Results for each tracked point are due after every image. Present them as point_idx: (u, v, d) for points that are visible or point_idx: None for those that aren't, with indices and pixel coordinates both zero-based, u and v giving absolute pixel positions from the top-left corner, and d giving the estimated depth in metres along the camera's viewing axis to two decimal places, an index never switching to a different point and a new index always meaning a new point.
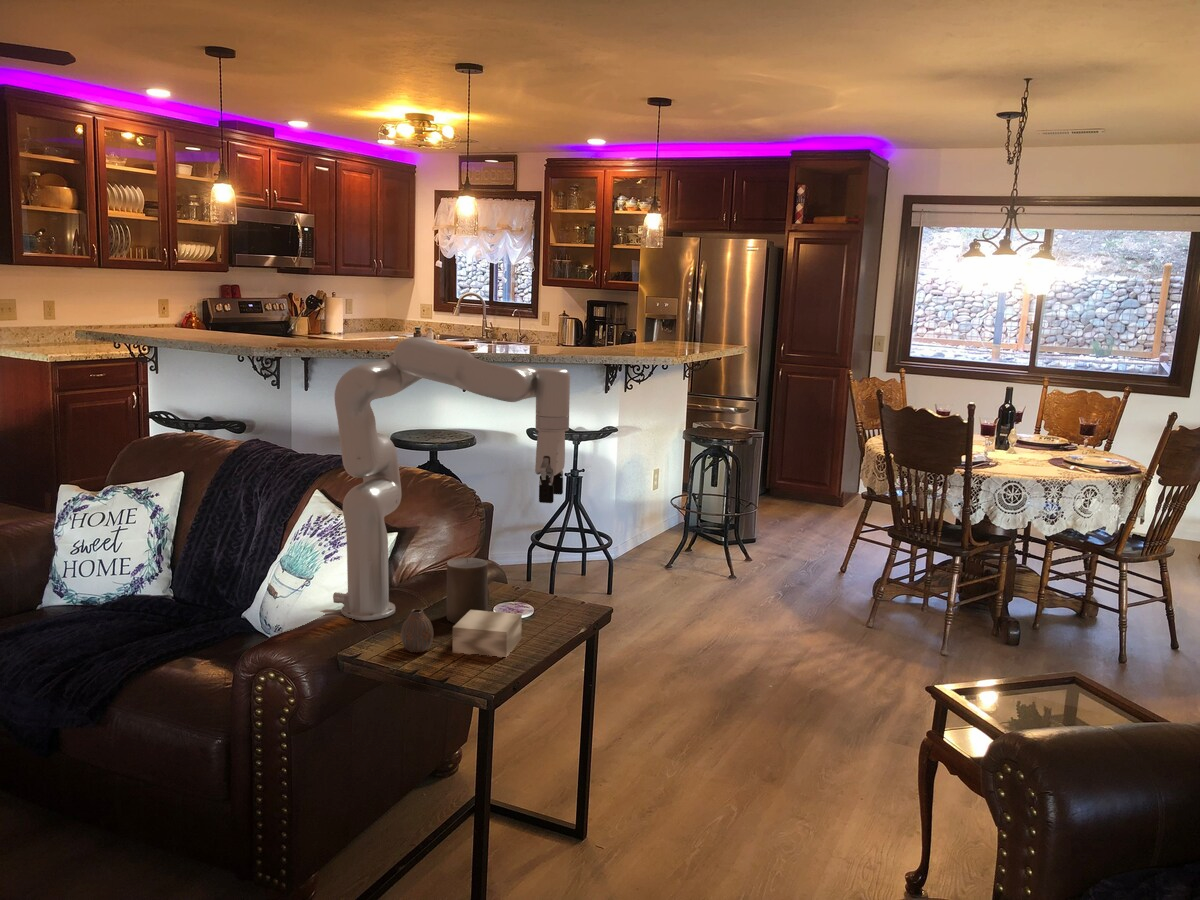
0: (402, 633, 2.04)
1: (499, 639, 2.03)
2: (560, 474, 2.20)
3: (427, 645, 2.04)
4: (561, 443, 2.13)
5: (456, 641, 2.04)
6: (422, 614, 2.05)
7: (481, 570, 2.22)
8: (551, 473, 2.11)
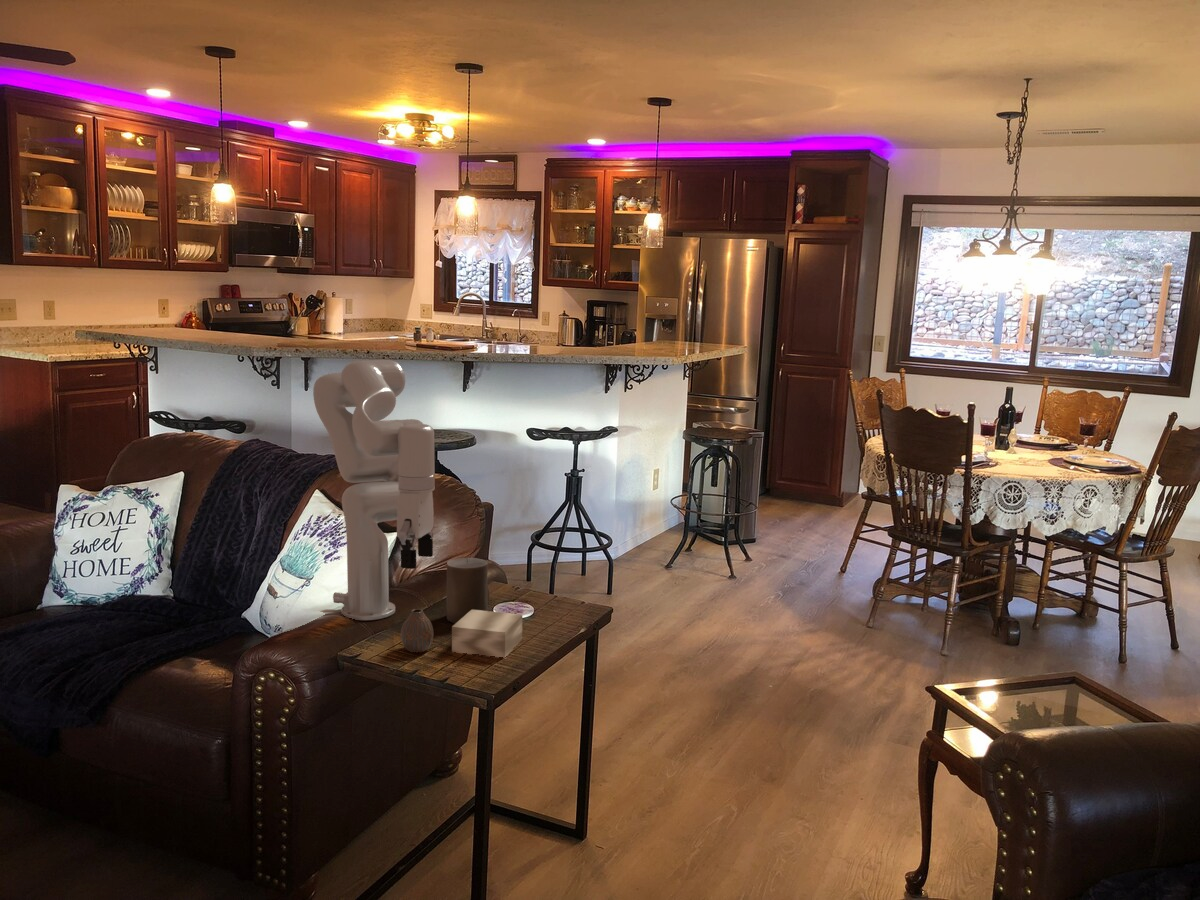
0: (402, 633, 2.04)
1: (497, 640, 2.02)
2: (429, 535, 2.07)
3: (427, 645, 2.04)
4: (425, 505, 2.00)
5: (455, 640, 2.05)
6: (422, 614, 2.05)
7: (481, 570, 2.22)
8: (413, 537, 1.97)
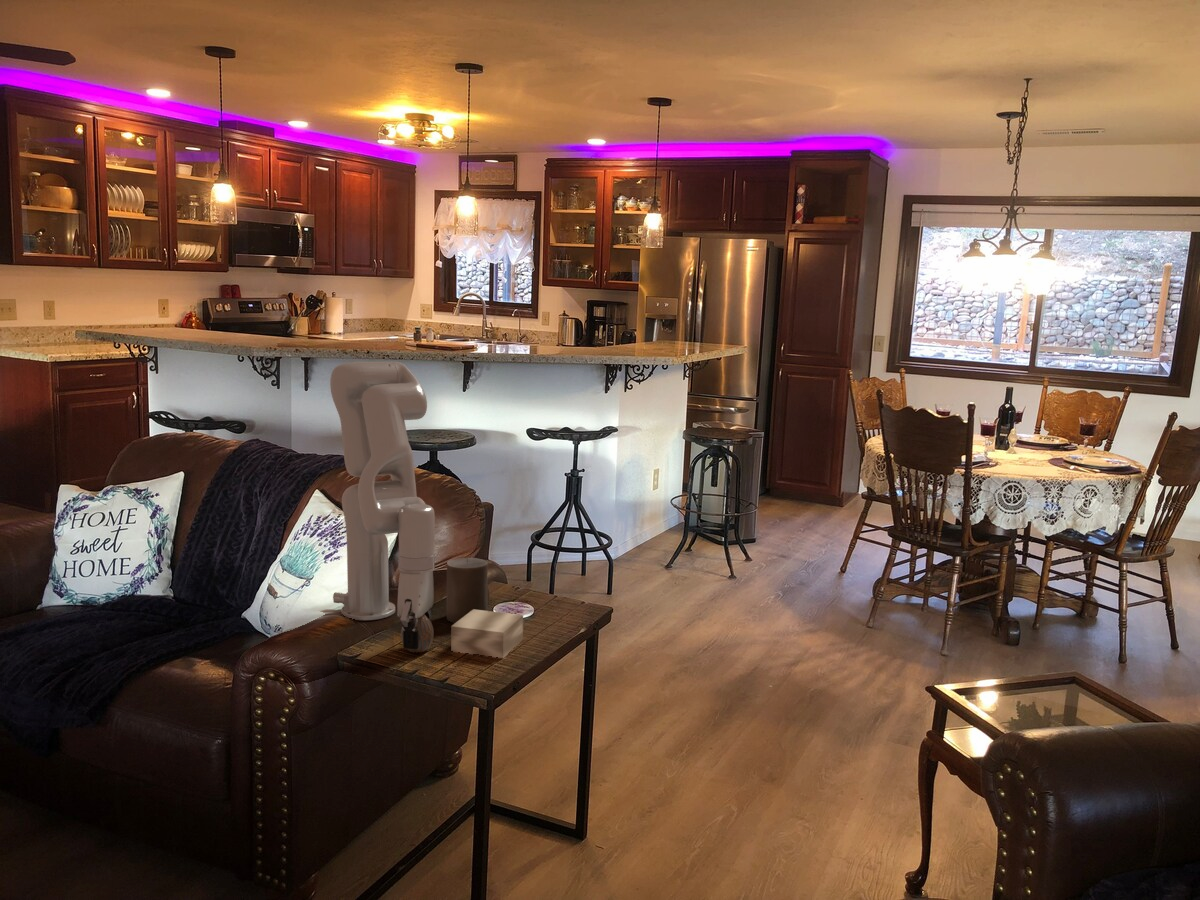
0: (402, 633, 2.04)
1: (496, 640, 2.02)
2: (427, 616, 2.09)
3: (427, 645, 2.04)
4: (425, 584, 2.02)
5: (454, 640, 2.05)
6: None
7: (481, 570, 2.22)
8: (414, 618, 2.01)
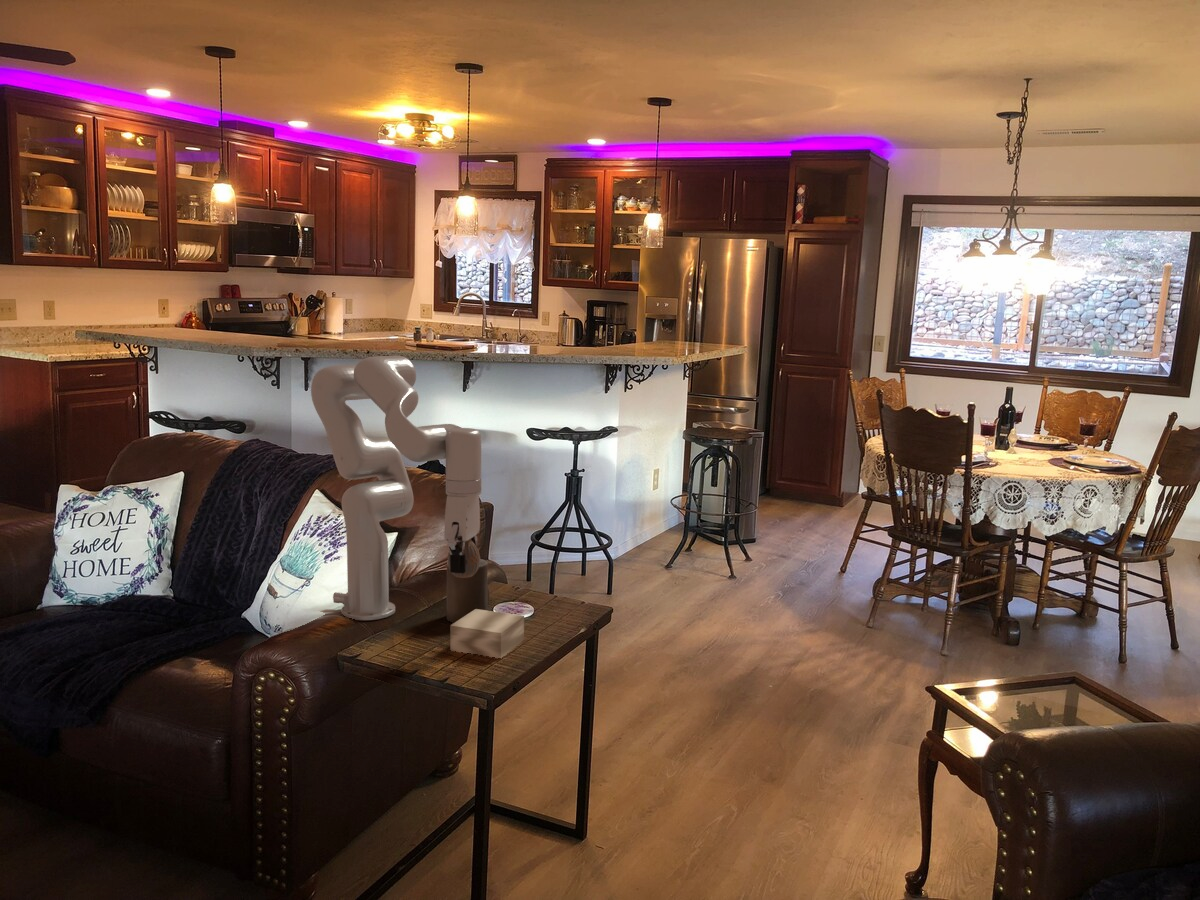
0: (449, 558, 2.03)
1: (493, 640, 2.02)
2: (474, 543, 2.08)
3: (474, 570, 2.04)
4: (472, 508, 2.02)
5: (453, 639, 2.05)
6: (469, 539, 2.04)
7: (481, 570, 2.22)
8: (461, 542, 2.00)
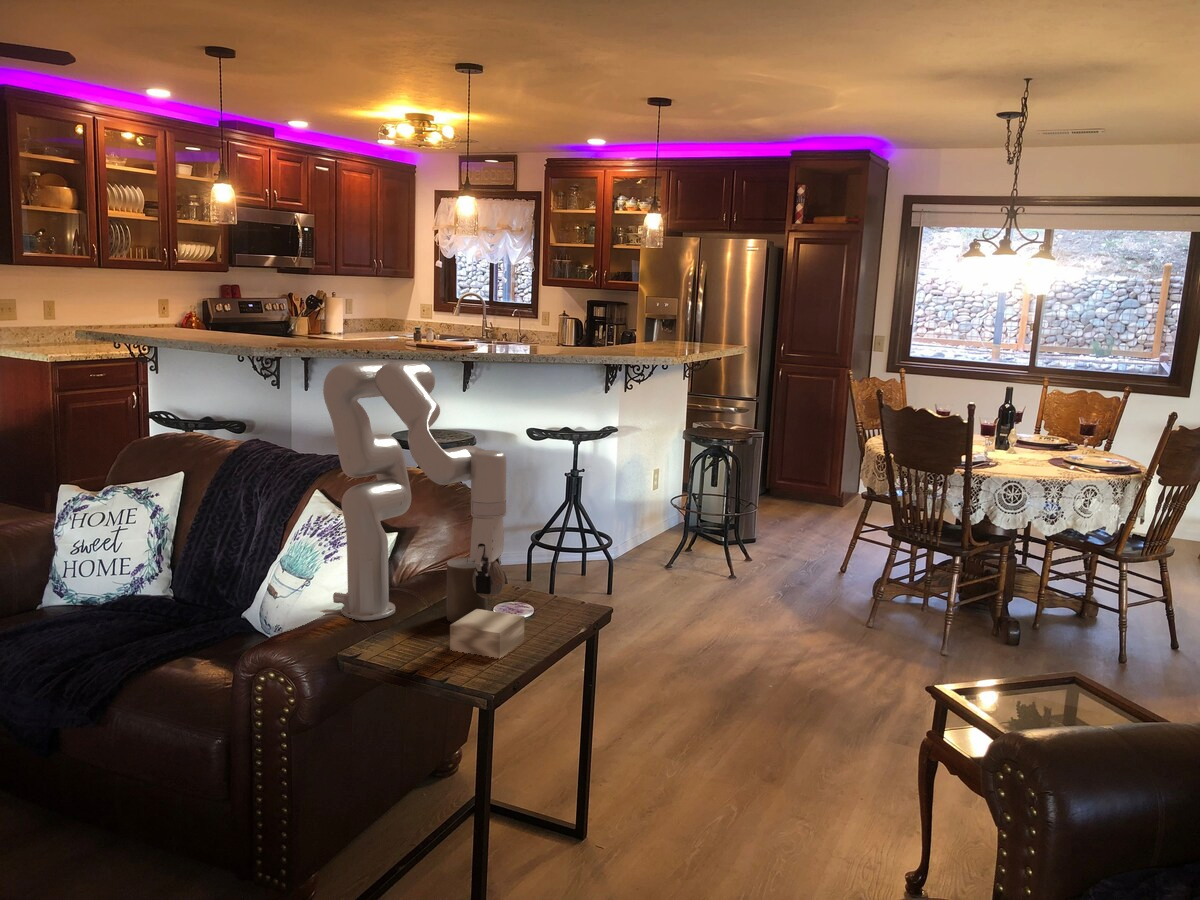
0: (474, 578, 2.05)
1: (492, 640, 2.02)
2: None
3: (499, 590, 2.06)
4: (497, 529, 2.04)
5: (453, 639, 2.06)
6: None
7: None
8: (487, 563, 2.03)
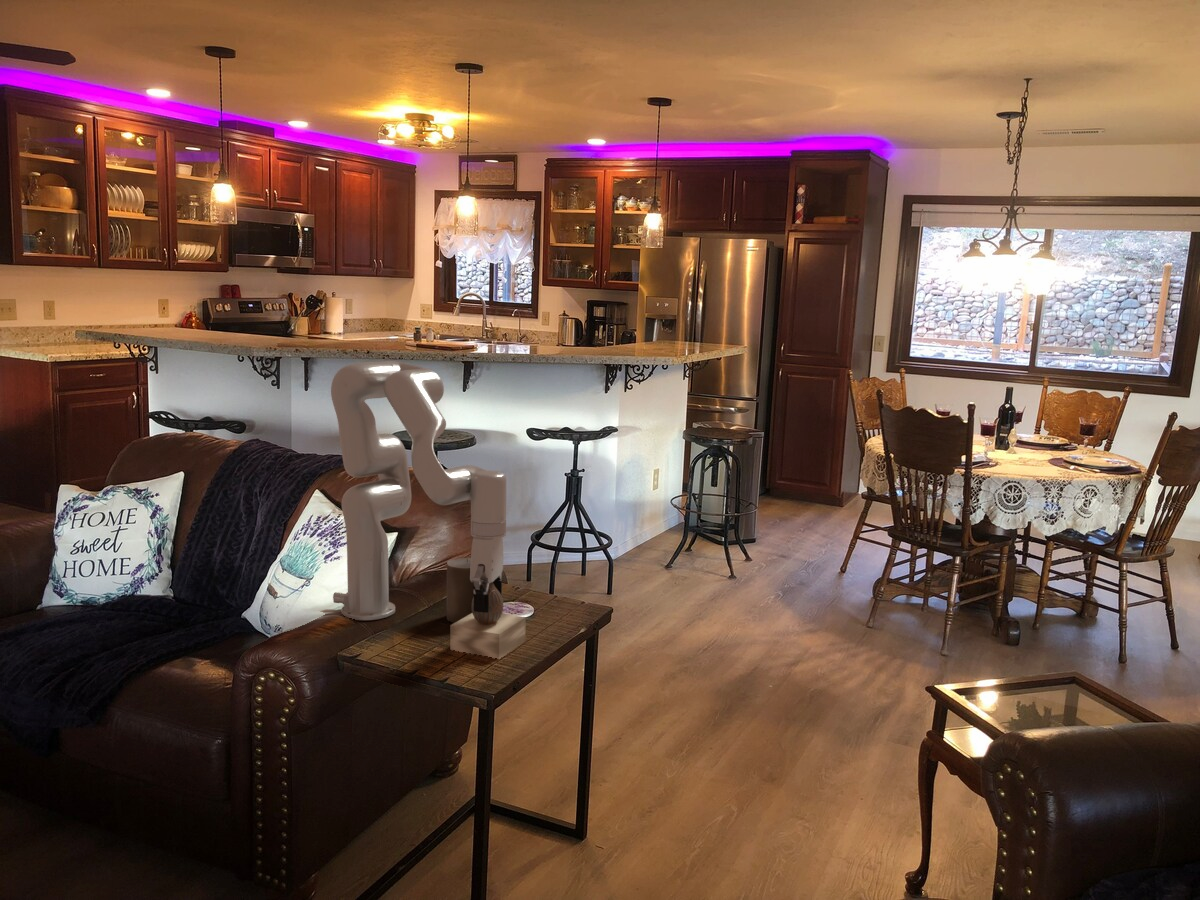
0: (473, 605, 2.06)
1: (492, 641, 2.02)
2: (498, 578, 2.12)
3: (498, 617, 2.07)
4: (497, 550, 2.05)
5: (453, 639, 2.06)
6: (493, 586, 2.07)
7: None
8: (486, 581, 2.03)
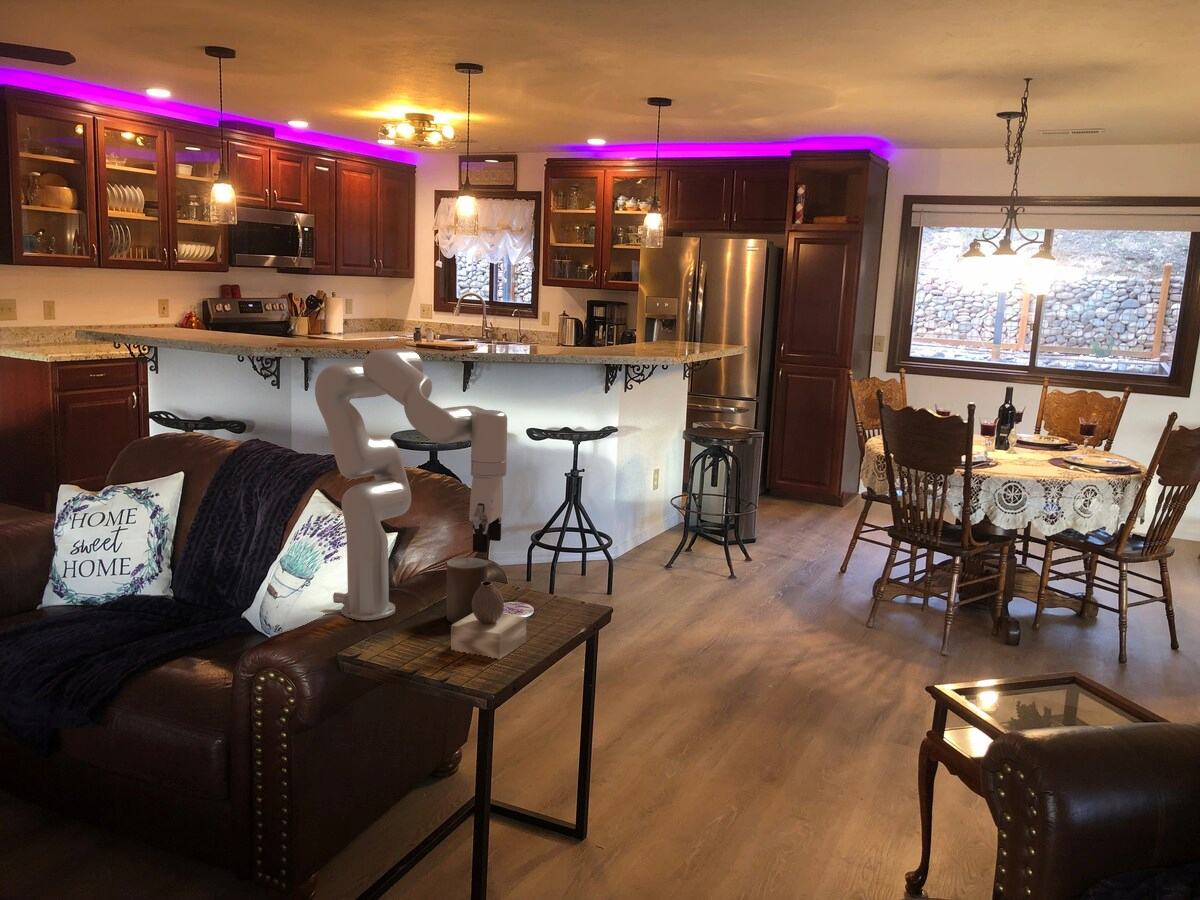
0: (475, 607, 2.05)
1: (492, 641, 2.02)
2: (498, 520, 2.10)
3: (500, 615, 2.07)
4: (497, 490, 2.03)
5: (454, 639, 2.06)
6: (492, 586, 2.06)
7: (481, 570, 2.22)
8: (486, 521, 2.01)
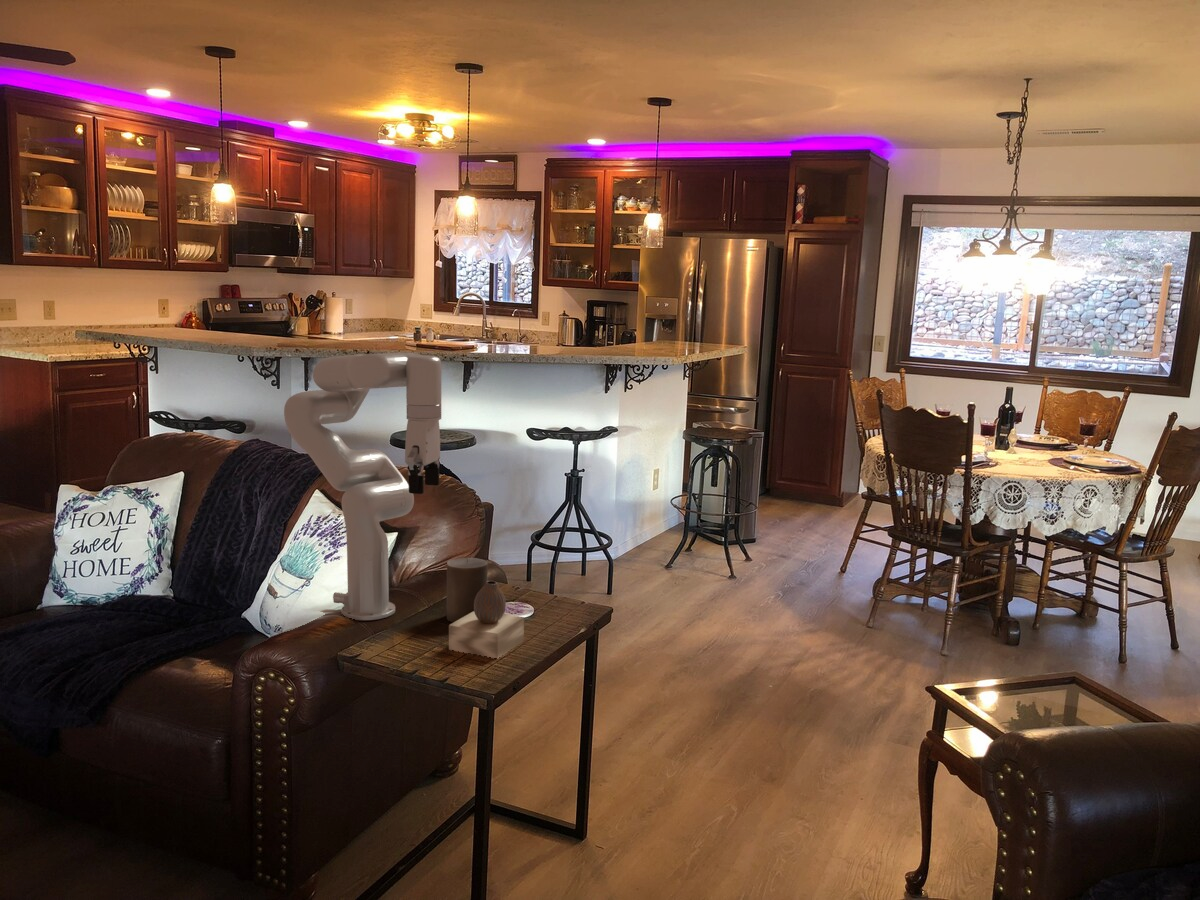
0: (479, 605, 2.05)
1: (490, 641, 2.02)
2: (436, 464, 2.15)
3: None
4: (432, 433, 2.08)
5: (452, 639, 2.06)
6: (497, 585, 2.07)
7: (481, 570, 2.22)
8: (421, 463, 2.06)
